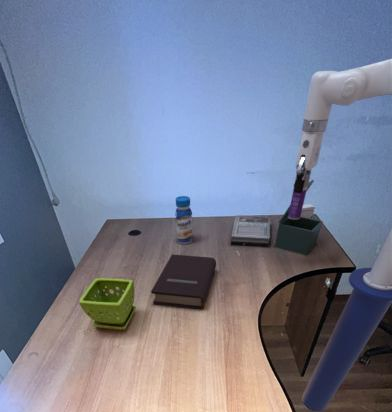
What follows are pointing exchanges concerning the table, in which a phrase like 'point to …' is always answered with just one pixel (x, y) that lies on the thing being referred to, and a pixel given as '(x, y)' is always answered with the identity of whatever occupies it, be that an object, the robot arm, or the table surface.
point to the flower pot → (109, 303)
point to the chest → (298, 234)
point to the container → (298, 200)
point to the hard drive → (251, 231)
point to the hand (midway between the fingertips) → (300, 189)
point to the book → (184, 282)
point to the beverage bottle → (184, 220)
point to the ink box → (307, 211)
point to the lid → (289, 206)
